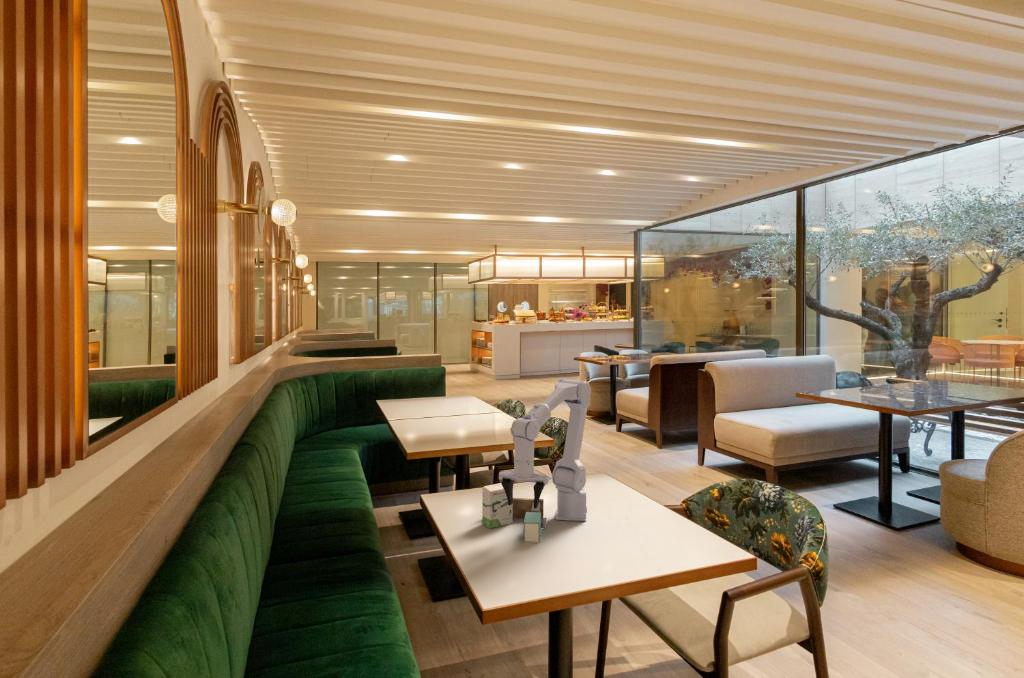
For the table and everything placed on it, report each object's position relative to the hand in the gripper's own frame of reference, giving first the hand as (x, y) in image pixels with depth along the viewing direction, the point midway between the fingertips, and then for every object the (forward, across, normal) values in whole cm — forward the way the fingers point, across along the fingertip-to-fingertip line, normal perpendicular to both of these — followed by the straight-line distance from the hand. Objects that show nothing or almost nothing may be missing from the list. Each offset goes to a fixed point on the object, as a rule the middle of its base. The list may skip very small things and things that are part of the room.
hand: (523, 505), depth 170 cm
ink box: (+10, -10, +9) cm, 17 cm away
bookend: (+9, +1, +12) cm, 15 cm away
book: (+10, +3, +2) cm, 10 cm away
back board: (+9, -6, +15) cm, 19 cm away
